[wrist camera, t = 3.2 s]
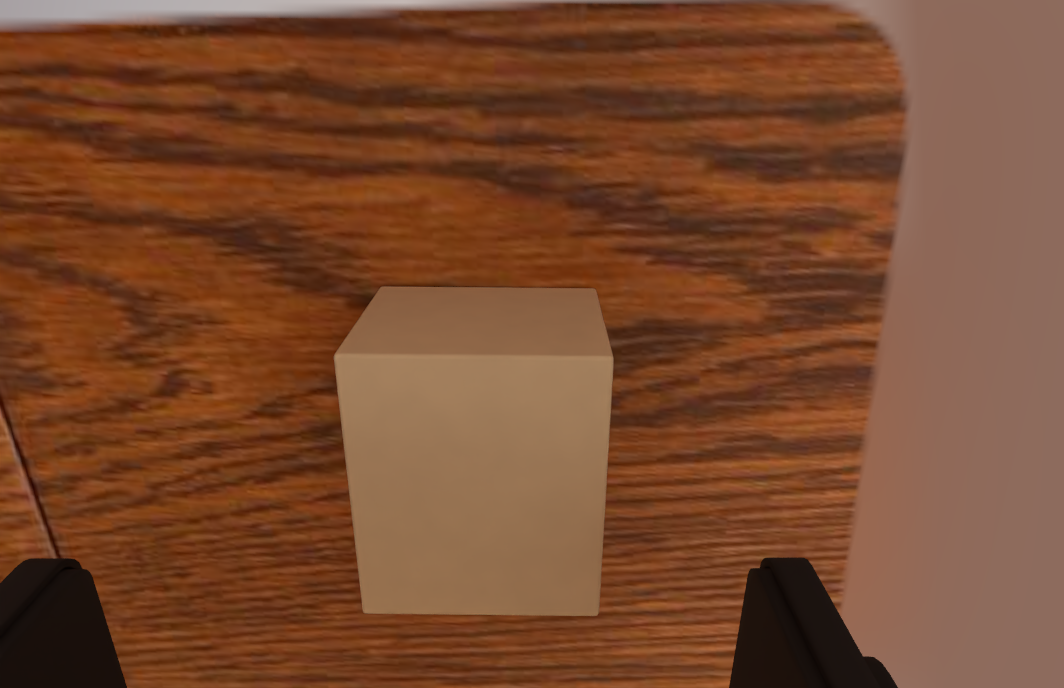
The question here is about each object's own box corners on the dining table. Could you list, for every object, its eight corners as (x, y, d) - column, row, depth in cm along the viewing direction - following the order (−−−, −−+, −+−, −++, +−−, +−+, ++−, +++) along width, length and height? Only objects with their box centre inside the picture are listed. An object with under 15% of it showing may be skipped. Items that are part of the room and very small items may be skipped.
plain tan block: (596, 287, 16) (614, 357, 12) (586, 503, 18) (599, 617, 14) (380, 285, 16) (331, 354, 12) (397, 501, 18) (362, 615, 14)
